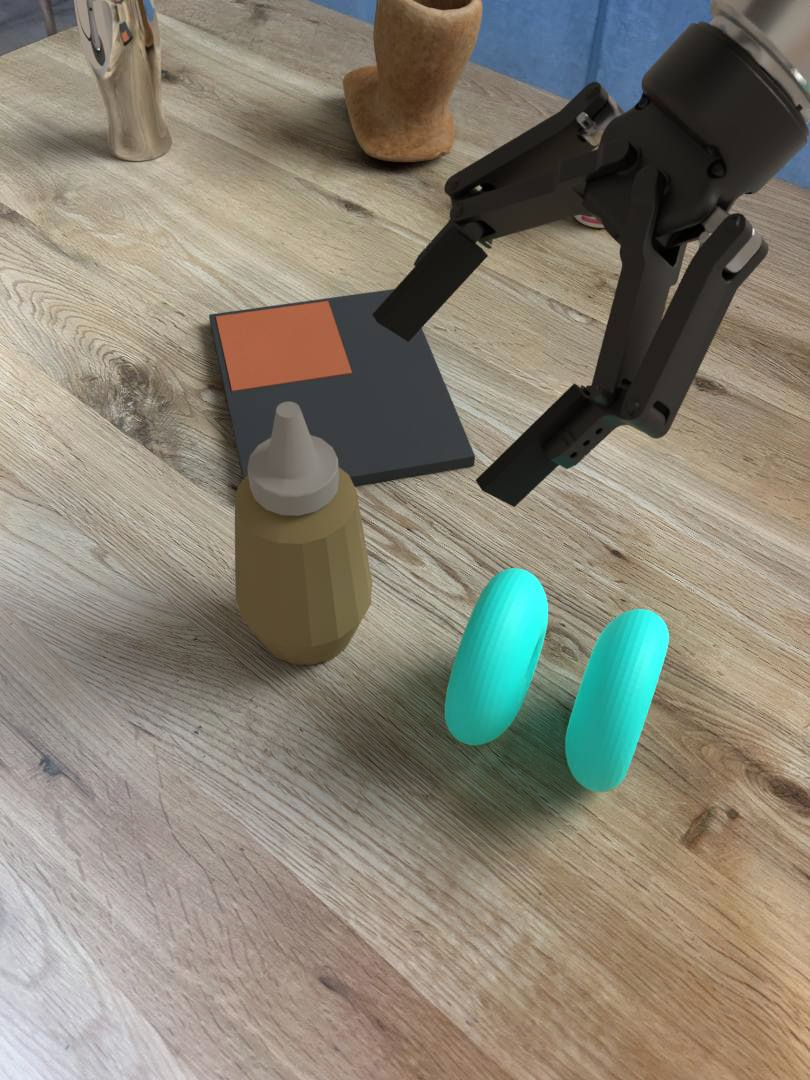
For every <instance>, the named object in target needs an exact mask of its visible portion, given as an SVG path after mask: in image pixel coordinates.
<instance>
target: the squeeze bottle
mask: <svg viewBox="0 0 810 1080" xmlns="http://www.w3.org/2000/svg"><path fill="white" fill-rule="evenodd" d="M366 543H367V542H366V538H365V533H364V526H363V521H362V513H361V508H360V503H359V498H358V492H357V489H356V486H354V485H353V483H352V480H351V478H350V476H349V475H348V474H347V473H346V472H344V471H343V470H342V469H341V468H339V467H338V458H337V456H336V454H335V452H334V450H333V447H331V446H330V445H329V444H327V443H326V442H325V441H324V440H322V439H321V438H318V437H315V436H312V435H310V433H309V431H308V428H307V425H306V423H305V420H304V417H303V415H302V412H301V409H300V407H299V405H298V404H296V403H294V402H283V403H281V404H279V405H278V407H277V408H276V414H275V419H274V425H273V430H272V436H271V438H269V439H268V440H266V441H264V442H263V443H261V444H259V445H258V446H257V448H256V449H255V450H254V451H253V453H252V454H251V455H250V457H249V463H248V475H247V476H246V477H245V479H244V480H243V479H242V481H241V483H239V485H238V487H237V490H236V494H235V501H234V575H235V576H234V583H235V584H234V587H235V588H234V593H235V594H234V595H235V596H234V597H235V603H236V606H237V607H238V608H237V609H238V612H239V614H240V617H241V620H242V621H243V623H244V624H245V625H246V626H247V627H248V629H250V631H251V632H252V633H253V634H254V636H255V637H256V638H257V639H258V640H259V642H261V644H263V646H264V647H265V648H266V649H267V650H268V651H269V652H270V653H271V654H272V655H274V656H275V657H276V659H280V660H282V661H284V662H287V663H290V664H292V665H304V666H305V665H307V666H313V665H317V664H320V663H323V662H326V661H330V660H333V659H334V658H335V657H337V656H338V655H340V653H342V652H343V651H344V650H345V649H346V648H347V647H348V645H349V644H350V642H351V640H352V639H353V637H354V635H355V634H356V632H357V630H358V628H359V626H360V624H361V623H362V621H363V619H364V617H365V615H366V613H367V611H368V610H369V608H370V607H371V604H372V592H373V578H372V573H371V567H370V561H369V556H368V549H367V544H366Z"/></svg>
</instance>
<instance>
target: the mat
mask: <svg viewBox="0 0 810 1080" xmlns="http://www.w3.org/2000/svg"><path fill="white" fill-rule="evenodd" d="M394 290H395V288H391V289H383V290H377V291H369V292H363V293H362V292H361V293H356V294H355V293H354V294H348V295H341V296H333V297H327V298H319V299H311V300H304V301H296V302H291V303H282V304H276V305H275V304H274V305H269V306H261V307H254V308H246V309H239V310H232V311H224V312H217V313H210V314H208V318H209V324H210V330H211V334H212V339H213V343H214V347H215V348H214V349H215V353H216V357H217V363H218V367H219V372H220V377H221V382H222V386H223V392H224V395H225V400H226V405H227V410H228V414H229V420H230V424H231V429H232V434H233V438H234V443H235V448H236V453H237V458H238V463H239V467H240V472H241V476H242V481H243V480H244V479H245V477H246V476H247V475H248V463H249V457H250V455H251V454H252V453H253V451H254V450H255V449H256V448H257V446H258V445H259V444H261V443H263V442H264V441H266V440H268V439H269V438H271V436H272V430H273V425H274V419H275V414H276V408H277V407H278V405H279V404H281V403H283V402H294V403H296V404H298V405H299V407H300V409H301V412H302V415H303V417H304V420H305V423H306V425H307V428H308V431H309V433H310V435H312V436H315V437H318V438H321V439H322V440H324V441H325V442H326V443H327V444H329V445H330V446H331V447H333V450H334V452H335V454H336V456H337V458H338V467H339V468H341V469H342V470H343V471H344V472H346V473H347V474H348V475H349V476H350V478H351V480H352V483H353V485H354V487H357V486H358V487H359V486H364V485H369V484H374V483H375V484H376V483H382V482H387V481H391V480H392V481H393V480H398V479H399V480H400V479H404V478H410V477H417V476H422V475H423V476H424V475H428V474H435V473H439V472H446V471H451V470H458V469H463V468H470V467H474V466H475V462H476V461H475V460H476V454H475V452H474V449H473V447H472V445H471V442H470V440H469V438H468V435H467V433H466V431H465V429H464V426H463V423H462V421H461V419H460V416H459V414H458V411H457V409H456V407H455V405H454V401H453V399H452V397H451V395H450V392H449V389H448V388H447V385H446V383H445V381H444V378H443V376H442V373H441V371H440V368H439V366H438V363H437V361H436V358H435V357H434V354H433V352H432V349H431V346H430V344H429V342H428V339H427V337H426V334H425V332H424V330H423V327H422V328H421V329H420V330H419V331H418V332H417V333H416V335H415V336H414V337H413V338H412V339H411V340H410V341H409V342H408V341H406V340H405V339H403V338H401V337H400V336H398V335H397V334H395V333H393V332H392V331H390V330H389V329H387V328H385V327H384V326H382V325H381V324H379V323H377V321H376V320H375V318H374V317H373V315H372V314H373V313H374V312H375V311H376V310H377V309H378V307H379V306H380V305H381V304H382V303H383V302H384V301H385V300H386V298H387V297H388V296H389V295H390V294H391V293H392V292H393V291H394Z"/></svg>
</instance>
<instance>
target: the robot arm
mask: <svg viewBox="0 0 810 1080" xmlns="http://www.w3.org/2000/svg"><path fill="white" fill-rule="evenodd" d="M709 13H710V16H711V18H712V20H711V21H710V22H709V23H708V22H706V21H702V20H701V21H698V22H697V23H696V22H691V23H690V24H689V25H688V26H687V27H686V28H685V30H684V31H683V32H682V33H681V34H679V36H678V37H677V38H676V39H675V40H674V41H673V42H672V43H671V44H670V46H669V47H668V48H667V49H666V50H665V51H664V52H663V53H662V55H660V57H659V58H658V59H657V60H656V61H655V62H654V63H653V64H652V65H651V66H650V68H649V69H648V70H647V71H646V72H645V73H644V75H642V79H641V90H642V94H641V97H640V99H639V100H638V102H637V103H636V104H635V105H633V106H632V107H631V108H630V109H628V110H626V111H624V109H623V108H622V107H621V106H620V105H619V104H618V102H616V100H615V99H614V98H613V97H612V96H611V94H609V92H608V91H607V90H606V89H605V88H604V86H602V84H601V83H599V82H598V81H592V82H589V83H588V84H587V85H585V86H584V87H583V88H582V89H581V90H580V91H579V92H578V93H577V94H576V95H575V96H574V97H573V98H572V99H571V100H570V101H568V103H567V104H566V105H564V106H563V107H562V108H561V109H560V110H559V111H558V112H556V113H554V114H553V115H551V116H549V117H548V118H546V119H544V120H543V121H541V122H539V123H538V124H536V125H534V126H532V127H531V128H530V129H528V130H526V131H524V132H522V133H521V134H519V135H518V136H516V137H514V138H513V139H511V140H509V141H508V142H506V143H504V144H503V145H501V146H499V147H498V148H496V149H494V150H493V151H491V152H489V153H488V154H486V155H484V156H483V157H480V158H479V159H477V160H476V161H474V162H473V163H471V164H469V165H468V166H466V167H464V168H463V169H460V170H459V171H457V172H455V173H454V174H453V175H451V176H450V177H449V178H448V179H447V180H446V182H445V184H444V187H443V190H444V193H445V194H446V195H447V196H448V197H449V198H450V202H451V208H450V211H449V220H448V221H447V223H446V224H445V225H444V226H443V227H442V229H440V230H439V231H438V233H437V234H436V235H435V236H434V238H432V239H431V241H430V242H429V243H428V244H427V245H426V246H425V248H423V250H422V251H420V253H419V254H418V255H417V256H416V259H415V261H414V263H413V268H412V269H411V271H410V272H408V274H407V275H406V276H405V277H404V278H403V279H402V280H401V281H400V282H399V284H398V285H396V287H395V288H394V289H395V290H394V291H393V292H392V293H391V294H390V295H389V296H388V297H387V298H386V300H385V301H384V302H383V303H382V304H381V305H380V306H379V307H378V309H377V310H376V311H375V312H374V313H373V314H372V315H373V317H374V318H375V320H376V321H377V323H379V324H381V325H382V326H384V327H385V328H387V329H389V330H390V331H392V332H393V333H395V334H397V335H398V336H400V337H401V338H403V339H405V340H406V341H408V342H409V341H410V340H411V339H412V338H413V337H414V336H415V335H416V333H417V332H418V331H419V330H420V329H421V328H422V329H423V327H424V326H425V325H426V324H427V323H428V322H429V321H430V319H431V318H432V317H434V316H435V314H436V313H437V312H438V311H439V310H440V309H441V308H442V307H443V306H444V304H446V302H447V301H448V300H449V299H450V298H451V297H452V296H453V295H454V293H455V292H457V291H458V289H459V288H461V286H462V285H463V284H464V283H465V282H466V280H468V278H470V276H471V275H472V274H473V273H474V272H475V271H476V270H477V269H478V268H479V266H481V264H482V263H484V261H485V260H486V259H487V258H488V257H489V255H488V253H487V252H486V251H485V249H484V248H482V246H483V247H485V248H486V249H488V250H489V249H493V247H492V245H493V240H496V239H499V238H503V237H507V236H510V235H513V234H517V233H520V232H524V231H527V230H531V229H535V228H538V227H543V226H545V225H548V224H552V223H556V222H559V221H563V220H566V219H570V218H574V216H577V215H584V216H587V217H594V218H596V219H597V220H598V221H599V222H600V223H601V224H602V225H603V226H604V228H603V229H604V230H605V232H607V234H608V235H609V236H610V237H611V238H612V239H613V240H614V241H615V242H616V243H618V244H619V245H620V247H619V258H620V261H621V269H620V272H619V276H618V280H617V284H616V288H615V292H614V297H613V300H612V303H611V308H610V312H609V315H608V318H607V323H606V327H605V330H604V335H603V337H602V338H603V339H602V343H601V346H600V349H599V354H598V358H597V362H596V365H595V371H594V374H593V378H592V381H591V385H582V384H581V385H580V386H579V385H578V384H576V383H575V382H574V383H573V384H572V385H571V386H570V387H569V388H568V389H566V391H565V392H564V393H562V394H561V396H559V397H558V399H556V401H554V402H553V403H552V405H550V406H549V407H548V408H547V409H546V410H545V411H544V412H543V413H542V414H541V415H540V416H539V417H538V418H537V419H536V420H535V421H533V423H532V424H531V425H530V426H529V427H528V428H527V429H526V430H525V431H524V432H523V433H521V435H520V436H518V438H516V440H514V442H513V443H511V445H509V446H508V448H506V449H505V450H504V451H503V453H501V454H500V455H499V456H498V457H497V458H496V459H495V460H494V461H493V462H492V463H491V464H490V465H489V466H488V467H487V468H486V469H485V470H484V471H483V472H482V473H481V474H480V475H479V476H478V477H477V478H475V482H476V483H477V485H478V487H479V488H480V490H481V491H482V492H483V493H485V494H488V495H490V496H492V497H494V498H495V499H497V500H500V501H502V502H504V503H505V504H507V505H509V506H511V507H514V508H516V507H517V505H519V504H520V503H521V502H522V501H523V500H524V499H525V498H526V497H527V496H528V495H530V493H531V492H533V491H534V489H535V488H537V487H538V486H539V485H540V484H541V483H542V482H543V481H544V480H545V479H546V478H547V477H548V476H550V474H551V473H552V472H554V470H555V469H557V467H559V466H560V467H562V468H563V469H566V470H569V469H571V468H572V467H576V466H577V465H578V464H579V463H580V462H581V461H583V459H584V458H585V457H586V456H588V455H589V454H590V453H591V452H592V450H594V449H595V448H596V447H598V445H599V444H600V443H602V442H603V440H604V439H606V438H607V437H608V436H609V435H610V434H611V433H612V432H613V431H614V430H616V429H618V428H619V427H622V426H628V427H631V428H633V429H636V430H637V431H639V432H641V433H644V434H645V435H647V436H648V437H649V438H651V439H660V438H663V437H665V436H666V435H667V434H668V432H669V431H670V429H671V427H672V425H673V423H674V421H675V419H676V417H677V415H678V414H679V413H678V412H679V411H680V409H681V407H682V405H683V402H684V400H685V398H686V396H687V394H688V392H689V390H690V388H691V386H692V384H693V382H694V380H695V378H696V375H697V374H698V372H699V370H700V367H701V365H702V363H703V361H704V359H705V357H706V355H707V353H708V351H709V349H710V346H711V344H712V343H713V340H714V339H715V336H716V334H717V332H718V330H719V328H720V326H721V324H722V322H723V320H724V318H725V316H726V313H727V312H728V309H729V307H730V305H731V303H732V301H733V299H734V297H735V295H736V293H737V291H738V289H739V288H740V287H741V286H742V284H744V283H745V281H746V280H747V279H748V278H749V276H751V274H752V273H754V271H755V270H756V269H757V267H758V266H759V265H760V264H761V263H762V262H763V261H764V260H765V258H766V257H767V255H768V253H769V249H770V248H769V244H768V243H767V241H766V240H765V239H764V238H763V237H762V235H761V234H760V233H759V232H758V230H757V229H756V228H755V227H754V226H753V224H752V223H751V222H750V221H749V220H748V219H747V217H746V216H745V215H744V214H743V213H739V212H736V213H732V214H730V213H729V212H730V211H731V209H732V207H733V206H734V204H735V203H736V201H737V200H738V199H740V197H742V196H743V195H754V194H756V193H758V192H759V191H761V190H762V188H763V187H764V186H766V185H767V183H769V182H770V181H771V180H772V179H773V178H774V177H775V176H776V175H778V172H780V171H781V170H782V169H783V168H784V167H785V166H786V165H787V164H788V163H789V162H790V161H791V160H792V159H793V158H794V157H795V156H796V155H797V154H798V153H799V152H800V151H801V150H803V148H804V147H805V146H806V145H807V144H808V137H809V135H810V129H809V126H808V123H810V0H711V1H710V4H709ZM598 145H599V146H598ZM597 146H598V149H597V150H594V149H595V148H596V147H597ZM592 150H593V151H592ZM478 187H481V189H479V190H478V189H477V188H478ZM696 241H698V243H699V246H698V249H697V251H696V252H695V254H694V256H693V257H692V259H690V262H689V263H688V265H687V267H686V269H685V271H684V273H683V274H682V277H681V279H680V282H679V283H678V281H679V277H680V273H681V269H682V265H683V261H684V258H685V253H686V249H687V245H688V244H689V243H692V242H696ZM477 243H479V244H481V245H482V246H480V245H479V244H477ZM677 283H678V286H677V288H676V290H675V292H674V294H673V296H672V298H671V300H670V302H669V304H668V306H667V309H666V305H667V302H668V301H667V300H668V297H669V293H670V290H671V287H673V286H675V285H676V284H677ZM665 309H666V310H665Z"/></svg>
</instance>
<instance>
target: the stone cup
mask: <svg viewBox="0 0 810 1080" xmlns="http://www.w3.org/2000/svg"><path fill="white" fill-rule="evenodd" d="M482 17H483V1H482V0H376V4H375V11H374V21H373V32H372V36H373V37H372V38H373V39H372V40H373V50H374V56H375V57H374V58H375V62H376V65H367V66H363V67H359V68H356V69H352V70H350V71H349V72H348V73H346V74H345V75H344V77H343V79H342V88H343V95H344V100H345V105H346V108H347V113H348V117H349V120H350V124H351V128H352V130H353V133H354V136H355V139H356V141H357V143H358V145H359V146H360V148H361V150H363V151H364V153H365V154H366V155H368V156H370V157H372V158H375V159H378V160H381V161H386V162H392V163H414V162H426V161H431V160H435V159H437V158H439V157H443V156H447V155H448V154H450V153H451V152H452V151H453V148H454V145H455V136H456V135H455V124H454V119H453V116H452V114H451V111H450V110H449V104H450V101H451V98H452V95H453V92H454V90H455V88H456V85H457V83H458V81H459V80H460V77H461V76H462V74H463V72H464V70H465V68H466V67H467V64H468V62H469V60H470V58H471V56H472V54H473V52H474V49H475V47H476V44H477V42H478V41H477V40H478V37H479V34H480V28H481V24H482Z"/></svg>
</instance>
